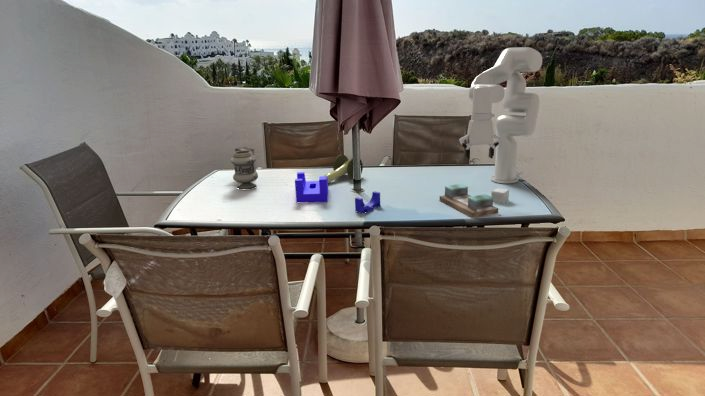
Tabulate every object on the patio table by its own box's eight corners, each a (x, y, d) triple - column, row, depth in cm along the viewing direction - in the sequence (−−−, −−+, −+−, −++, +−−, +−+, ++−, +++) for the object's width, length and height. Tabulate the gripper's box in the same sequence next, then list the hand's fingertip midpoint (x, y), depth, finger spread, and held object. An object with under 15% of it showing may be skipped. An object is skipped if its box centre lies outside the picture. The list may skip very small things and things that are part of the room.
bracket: (327, 202, 205) (326, 179, 201) (296, 203, 204) (294, 180, 201) (328, 188, 225) (327, 167, 221) (299, 190, 224) (298, 168, 221)
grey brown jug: (237, 178, 248) (234, 148, 243) (248, 175, 252) (245, 146, 247) (246, 181, 242) (243, 150, 237) (257, 178, 246) (254, 148, 241)
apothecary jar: (233, 185, 235) (229, 150, 229) (257, 182, 238) (253, 148, 233) (235, 192, 224) (230, 155, 218) (260, 189, 227) (256, 152, 222)
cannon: (330, 187, 226) (329, 164, 223) (314, 183, 234) (313, 161, 231) (365, 176, 243) (364, 155, 240) (349, 173, 251) (348, 152, 248)
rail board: (463, 196, 204) (463, 182, 202) (498, 213, 183) (499, 197, 181) (439, 200, 200) (439, 186, 198) (472, 217, 179) (472, 202, 177)
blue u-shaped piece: (363, 214, 188) (362, 200, 186) (355, 212, 191) (354, 198, 189) (383, 206, 196) (382, 193, 194) (375, 204, 199) (374, 191, 197)
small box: (495, 198, 201) (496, 187, 199) (508, 200, 197) (509, 189, 196) (490, 202, 197) (491, 190, 195) (503, 204, 193) (504, 193, 192)
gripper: (499, 115, 194) (496, 155, 199) (458, 116, 193) (456, 157, 198) (505, 117, 187) (502, 159, 192) (462, 118, 186) (461, 160, 191)
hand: (479, 158), depth 195 cm, fingers open, 9 cm apart
